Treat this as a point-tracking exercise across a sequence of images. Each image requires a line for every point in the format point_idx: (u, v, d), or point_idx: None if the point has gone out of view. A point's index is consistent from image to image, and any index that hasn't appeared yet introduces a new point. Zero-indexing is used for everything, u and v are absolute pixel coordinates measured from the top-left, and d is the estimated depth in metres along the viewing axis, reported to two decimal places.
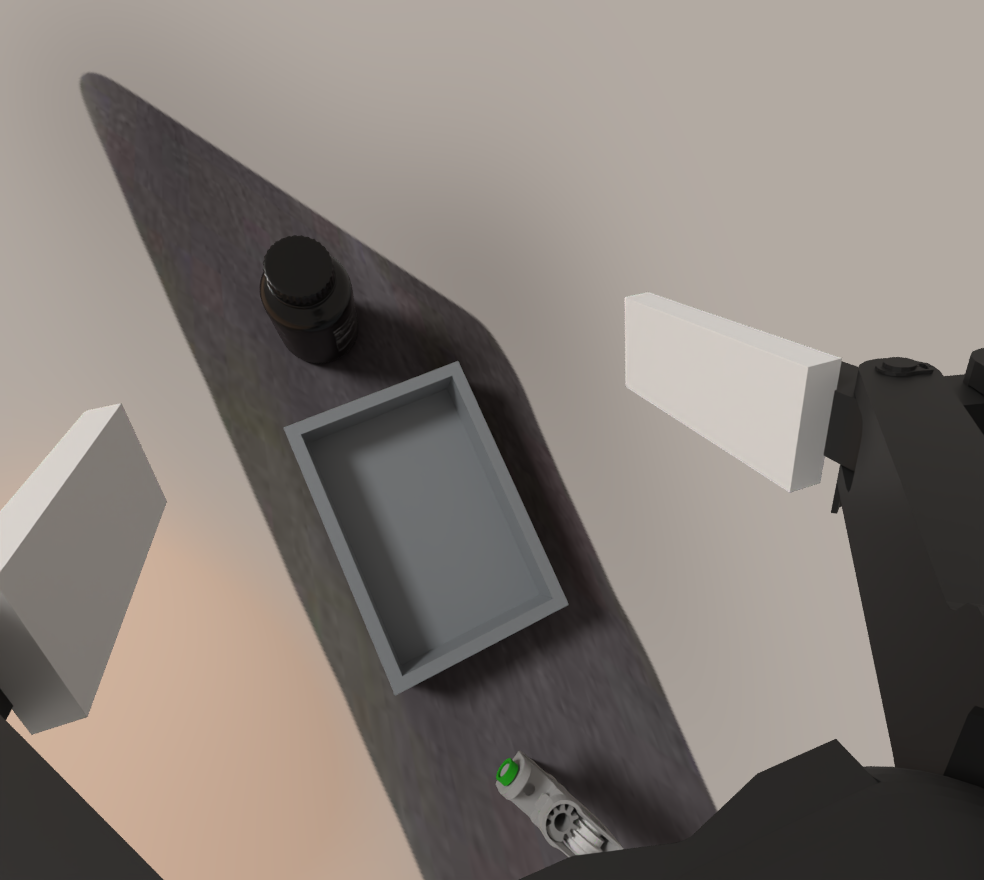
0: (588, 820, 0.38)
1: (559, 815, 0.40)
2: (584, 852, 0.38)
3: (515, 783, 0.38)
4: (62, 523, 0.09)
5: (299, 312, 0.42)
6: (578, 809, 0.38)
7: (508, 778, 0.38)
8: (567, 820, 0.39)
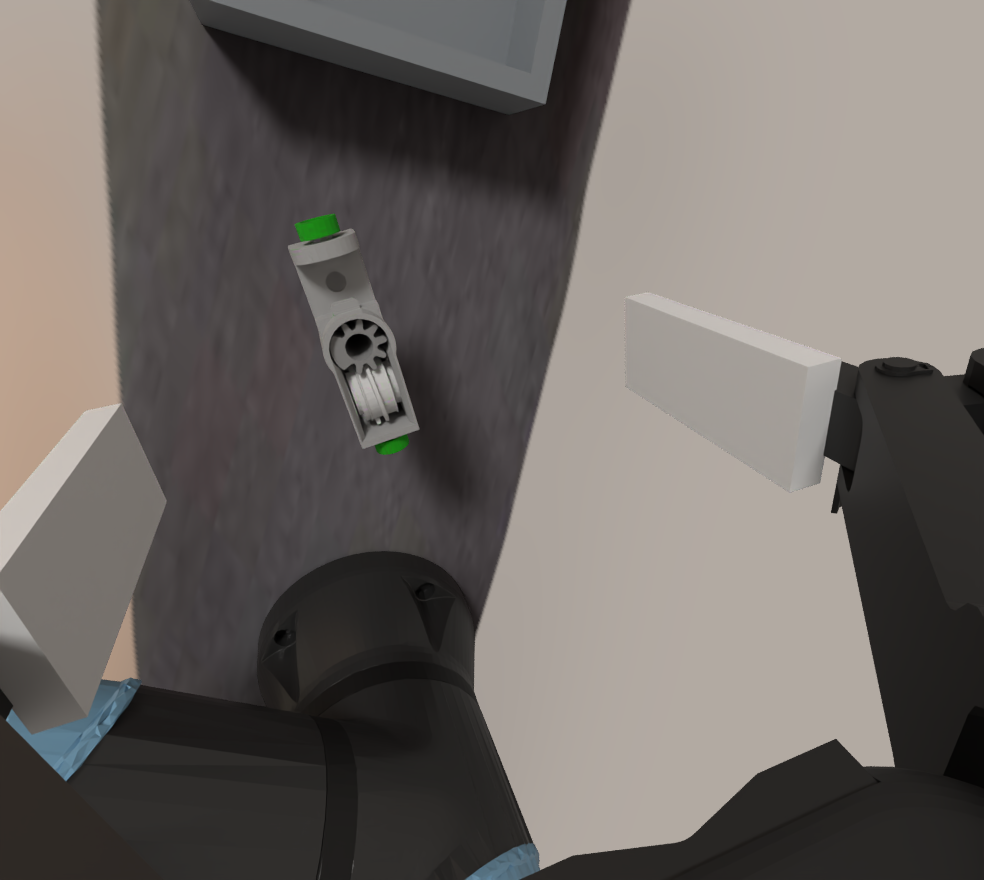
0: (396, 368, 0.24)
1: (357, 348, 0.26)
2: (365, 402, 0.25)
3: (322, 244, 0.21)
4: (62, 523, 0.09)
5: None
6: (392, 345, 0.24)
7: (315, 230, 0.21)
8: (366, 353, 0.24)
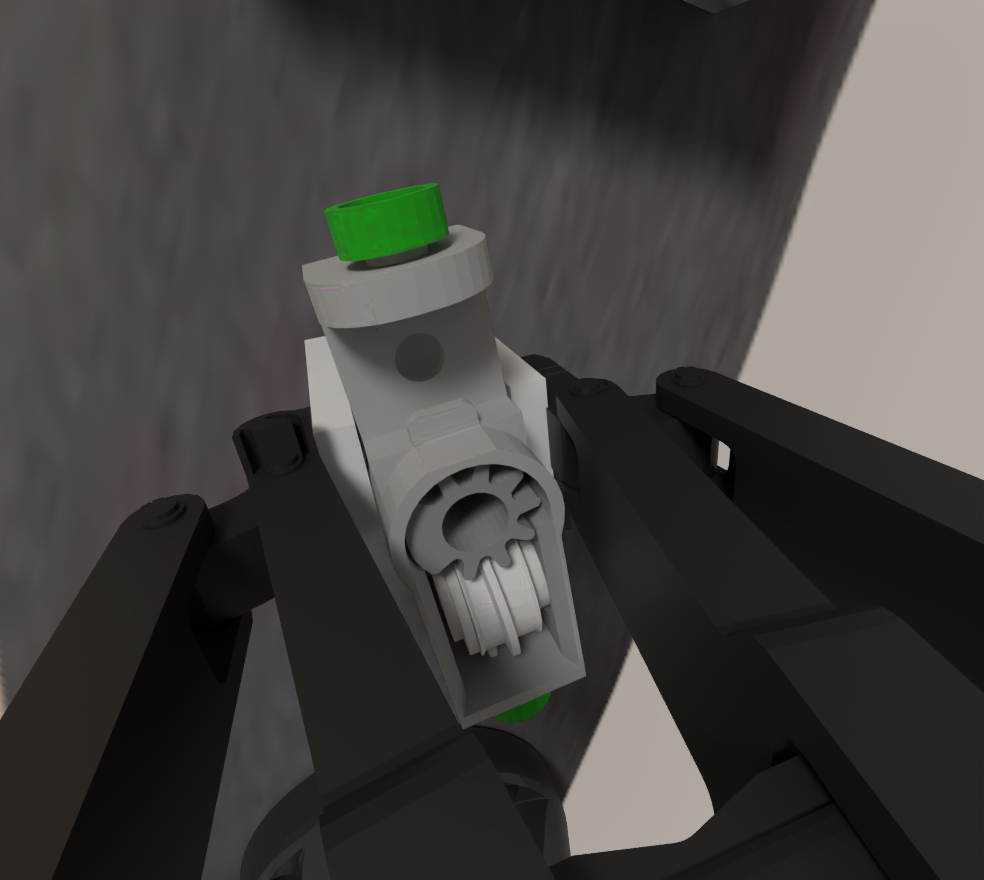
0: (556, 563, 0.10)
1: None
2: (477, 634, 0.10)
3: (406, 271, 0.07)
4: None
5: None
6: (557, 518, 0.10)
7: (386, 231, 0.07)
8: (483, 524, 0.10)
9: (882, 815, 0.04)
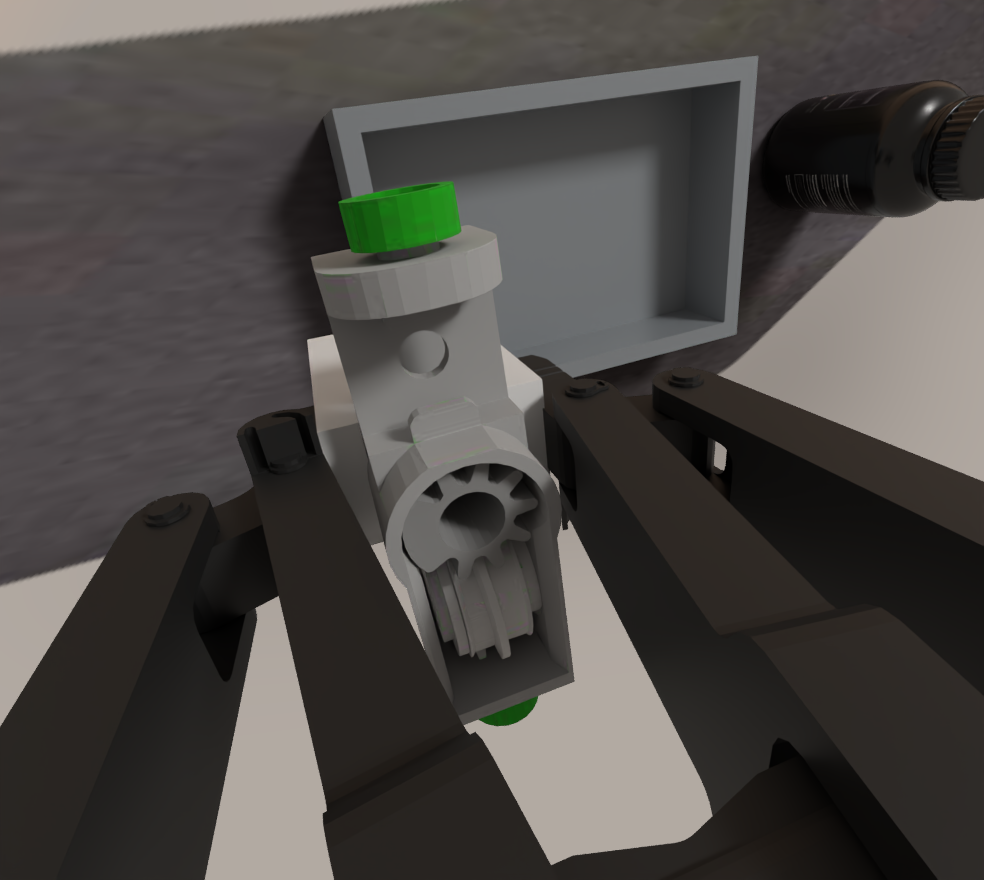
0: (550, 566, 0.10)
1: None
2: (468, 635, 0.10)
3: (418, 266, 0.07)
4: None
5: (916, 131, 0.29)
6: (553, 520, 0.10)
7: (400, 225, 0.07)
8: (479, 524, 0.10)
9: (881, 818, 0.04)
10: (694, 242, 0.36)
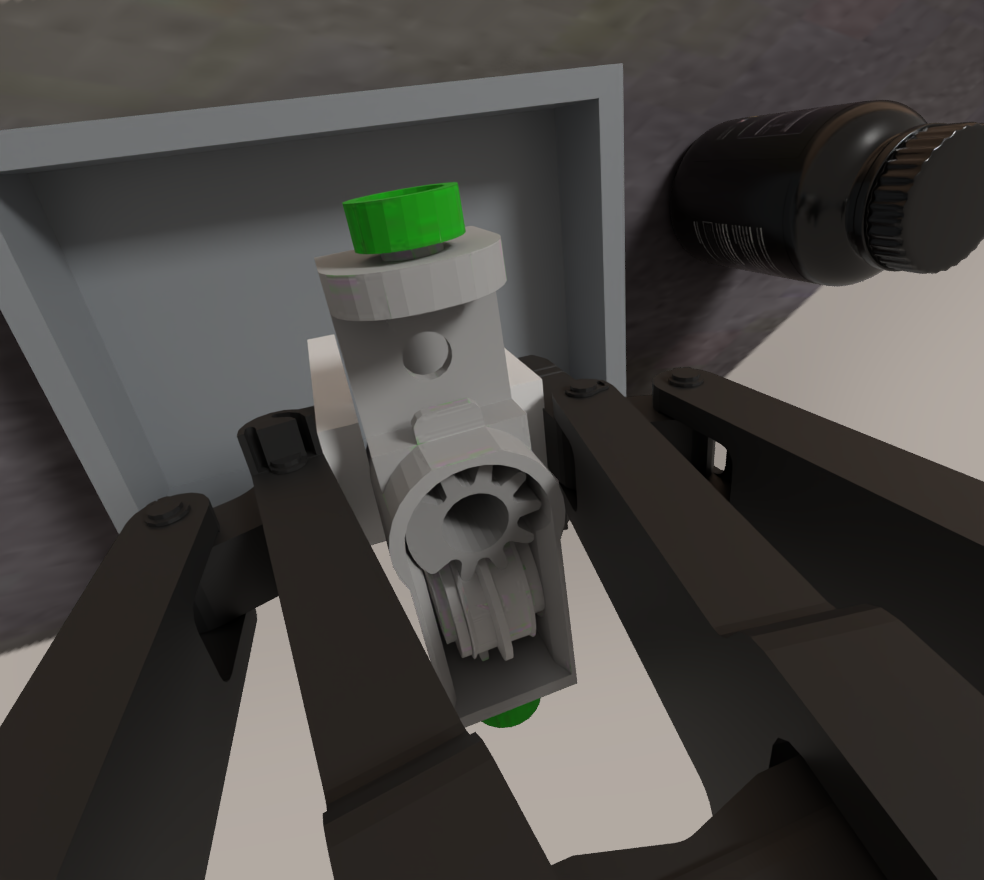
0: (553, 568, 0.10)
1: None
2: (471, 637, 0.10)
3: (423, 267, 0.07)
4: None
5: (848, 173, 0.20)
6: (557, 522, 0.10)
7: (405, 226, 0.07)
8: (482, 526, 0.10)
9: (881, 816, 0.04)
10: (572, 307, 0.28)
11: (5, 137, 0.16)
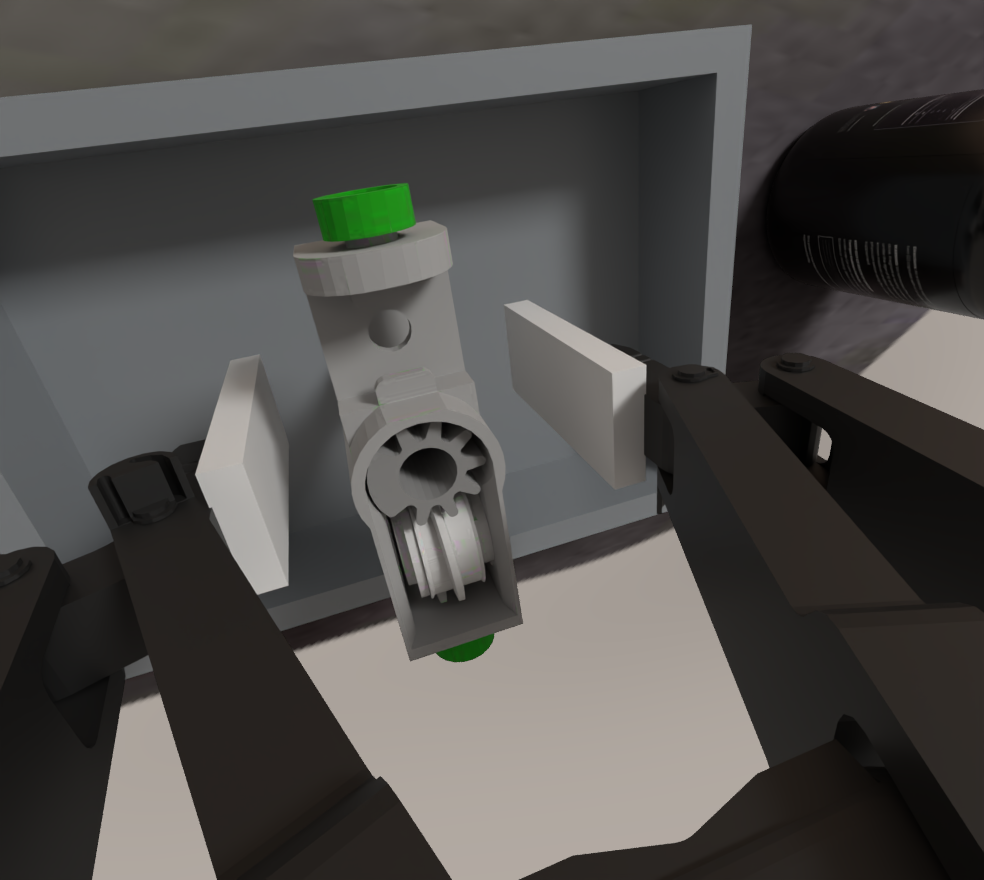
0: (498, 517, 0.12)
1: (414, 456, 0.13)
2: (427, 576, 0.12)
3: (375, 252, 0.09)
4: (256, 436, 0.11)
5: None
6: (498, 475, 0.11)
7: (361, 218, 0.09)
8: (438, 479, 0.12)
9: (933, 788, 0.04)
10: (648, 343, 0.22)
11: None
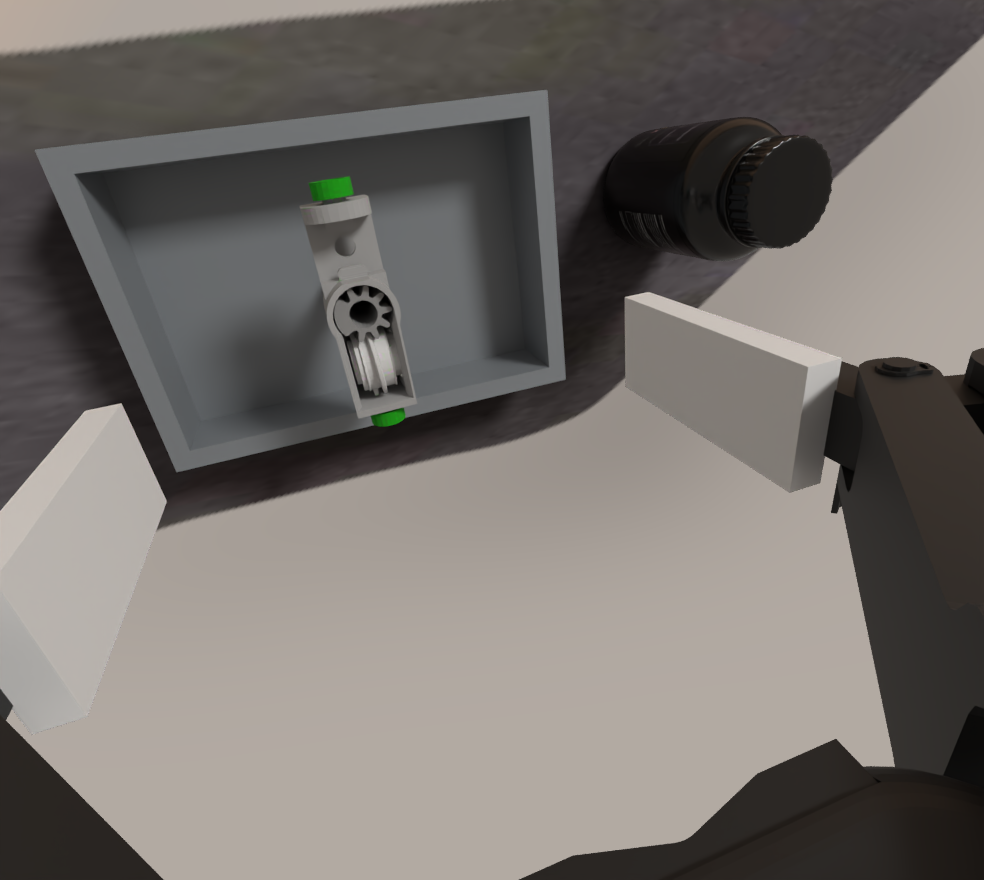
0: (399, 339, 0.24)
1: (360, 317, 0.25)
2: (365, 371, 0.24)
3: (335, 205, 0.21)
4: (62, 523, 0.09)
5: (716, 173, 0.27)
6: (397, 315, 0.24)
7: (328, 191, 0.21)
8: (370, 322, 0.24)
9: None
10: (522, 281, 0.34)
11: (97, 147, 0.23)
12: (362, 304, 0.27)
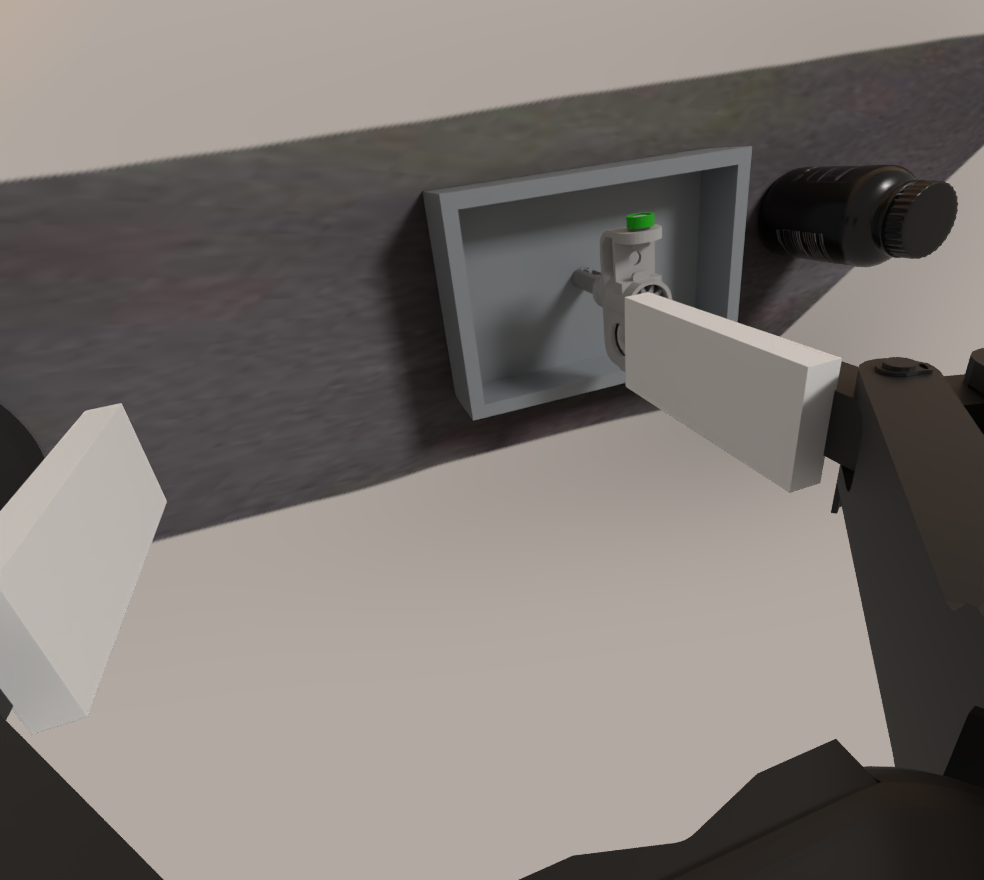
0: None
1: None
2: None
3: (648, 231, 0.32)
4: (62, 523, 0.09)
5: (873, 205, 0.38)
6: None
7: (644, 222, 0.32)
8: None
9: None
10: (702, 281, 0.45)
11: (474, 192, 0.34)
12: None
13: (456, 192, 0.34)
